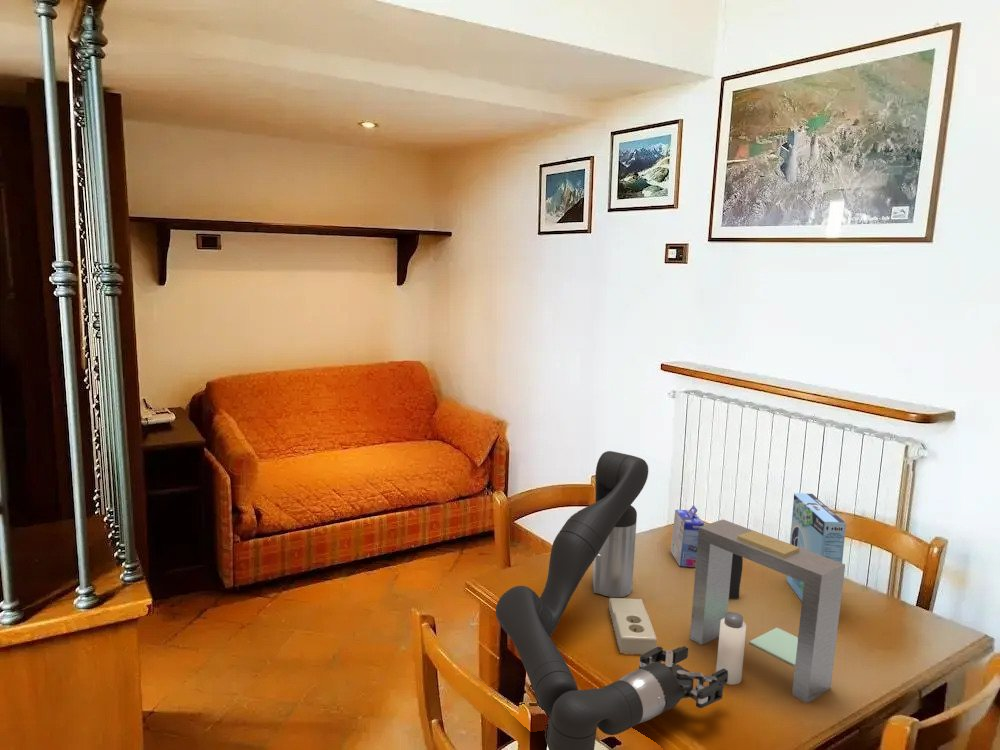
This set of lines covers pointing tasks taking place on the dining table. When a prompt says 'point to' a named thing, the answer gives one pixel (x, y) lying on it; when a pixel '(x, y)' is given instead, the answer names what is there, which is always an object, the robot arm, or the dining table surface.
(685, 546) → the ink cartridge box
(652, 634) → the electrical outlet
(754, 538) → the arch
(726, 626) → the bottle
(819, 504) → the gum box
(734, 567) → the black rounded block
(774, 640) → the mat
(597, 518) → the robot arm
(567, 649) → the dining table surface
